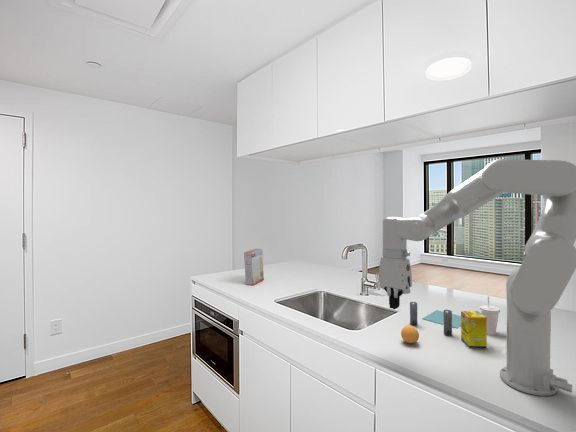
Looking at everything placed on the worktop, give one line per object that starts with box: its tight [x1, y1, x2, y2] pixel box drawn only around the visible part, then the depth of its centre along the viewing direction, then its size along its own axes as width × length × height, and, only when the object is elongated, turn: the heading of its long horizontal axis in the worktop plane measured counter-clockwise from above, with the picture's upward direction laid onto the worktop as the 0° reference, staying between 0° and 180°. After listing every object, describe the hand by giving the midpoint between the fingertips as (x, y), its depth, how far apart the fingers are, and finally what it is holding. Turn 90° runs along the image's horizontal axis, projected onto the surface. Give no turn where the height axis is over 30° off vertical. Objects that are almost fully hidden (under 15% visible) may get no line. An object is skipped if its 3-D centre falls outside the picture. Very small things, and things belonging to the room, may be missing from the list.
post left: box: [409, 301, 418, 327], centre depth 127 cm, size 3×3×9 cm
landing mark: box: [421, 309, 461, 329], centre depth 132 cm, size 14×14×1 cm
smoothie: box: [479, 296, 501, 336], centre depth 117 cm, size 6×6×14 cm
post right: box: [443, 309, 453, 337], centre depth 117 cm, size 3×3×9 cm
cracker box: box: [243, 248, 265, 286], centre depth 200 cm, size 14×6×21 cm, turn 155°
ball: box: [400, 325, 420, 345], centre depth 111 cm, size 6×6×6 cm
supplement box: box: [460, 310, 488, 349], centre depth 108 cm, size 6×6×11 cm
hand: (394, 307), depth 105 cm, fingers closed
